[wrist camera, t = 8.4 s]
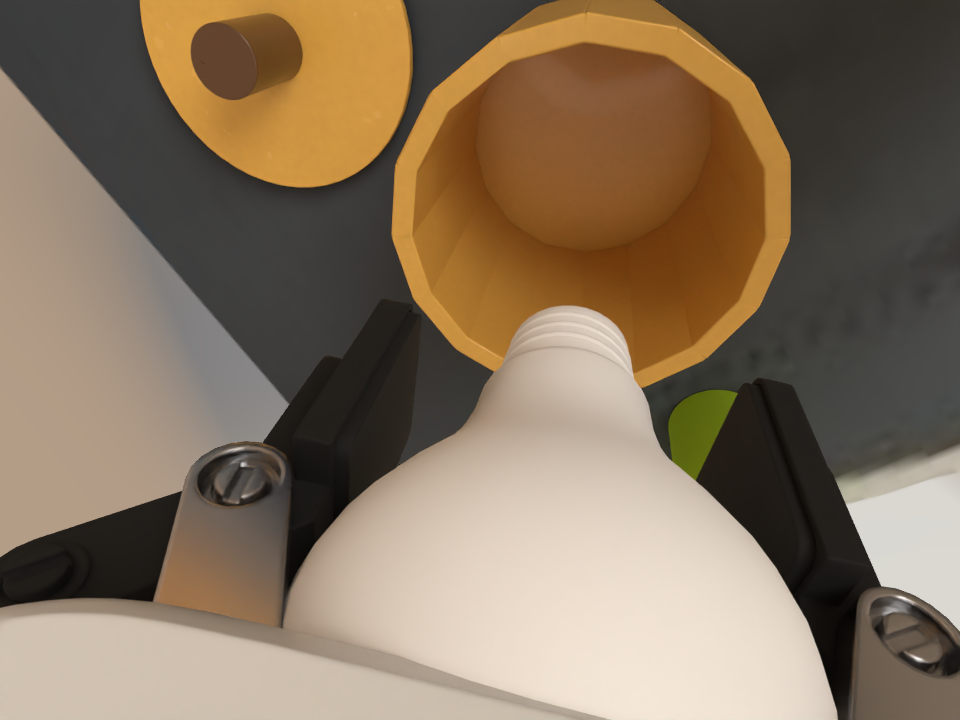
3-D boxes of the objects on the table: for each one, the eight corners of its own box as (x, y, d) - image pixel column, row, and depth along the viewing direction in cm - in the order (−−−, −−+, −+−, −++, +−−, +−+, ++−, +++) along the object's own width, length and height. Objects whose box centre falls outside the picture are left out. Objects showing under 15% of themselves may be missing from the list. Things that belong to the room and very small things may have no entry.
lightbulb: (782, 324, 12) (1231, 1287, 3) (587, 480, 16) (557, 1184, 7) (547, 138, 11) (300, 870, 2) (388, 349, 15) (30, 990, 6)
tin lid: (128, -151, 29) (26, -173, 24) (427, -104, 28) (386, -117, 23) (176, 157, 37) (107, 189, 32) (407, 202, 36) (374, 242, 31)
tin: (481, -30, 29) (404, -19, 18) (769, 17, 28) (872, 59, 17) (452, 235, 37) (384, 355, 26) (677, 279, 36) (706, 424, 25)
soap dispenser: (638, 419, 42) (657, 718, 26) (734, 375, 39) (826, 684, 22) (681, 474, 44) (725, 783, 28) (776, 436, 41) (890, 761, 24)
